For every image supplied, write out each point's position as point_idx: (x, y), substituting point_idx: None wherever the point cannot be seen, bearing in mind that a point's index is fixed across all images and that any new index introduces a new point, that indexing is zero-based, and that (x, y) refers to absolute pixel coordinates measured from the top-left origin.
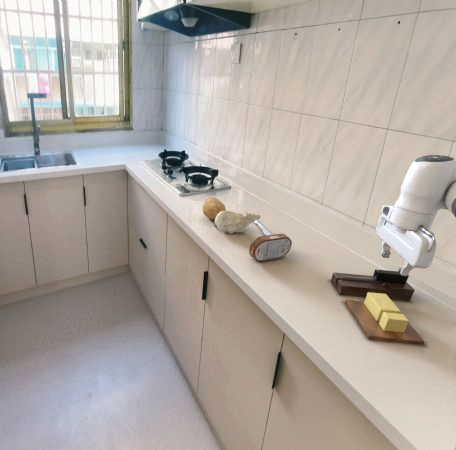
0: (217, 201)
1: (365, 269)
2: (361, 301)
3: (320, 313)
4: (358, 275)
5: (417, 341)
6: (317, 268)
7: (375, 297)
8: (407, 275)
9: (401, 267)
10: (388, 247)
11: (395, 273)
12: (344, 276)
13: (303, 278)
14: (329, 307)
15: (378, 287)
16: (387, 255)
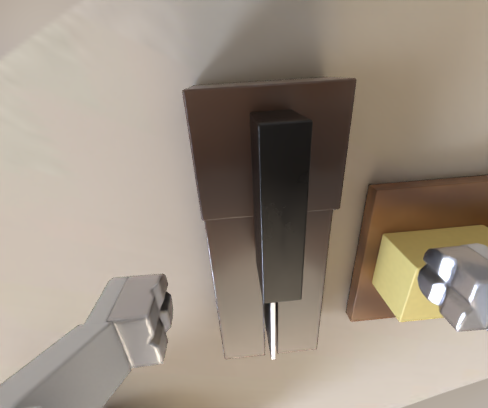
0: None
1: (49, 183)
2: (360, 286)
3: (392, 360)
4: (223, 291)
5: None
6: None
7: (436, 309)
8: (477, 244)
9: (471, 324)
10: (73, 375)
11: (298, 213)
12: (275, 354)
13: (231, 377)
14: (369, 343)
15: (315, 245)
16: (158, 302)
